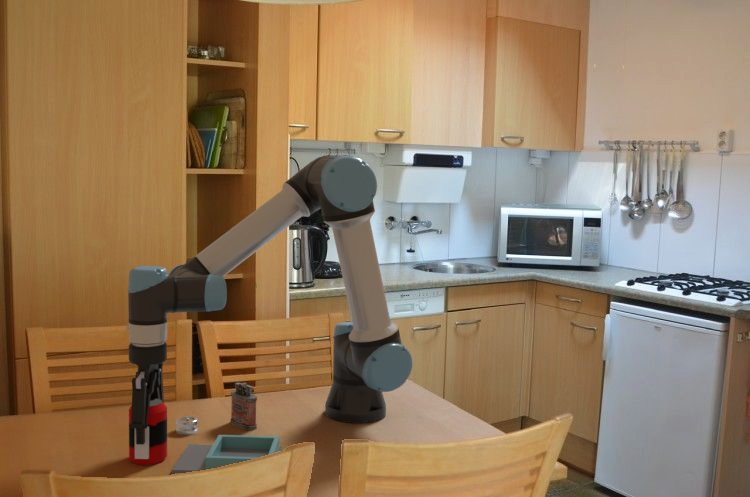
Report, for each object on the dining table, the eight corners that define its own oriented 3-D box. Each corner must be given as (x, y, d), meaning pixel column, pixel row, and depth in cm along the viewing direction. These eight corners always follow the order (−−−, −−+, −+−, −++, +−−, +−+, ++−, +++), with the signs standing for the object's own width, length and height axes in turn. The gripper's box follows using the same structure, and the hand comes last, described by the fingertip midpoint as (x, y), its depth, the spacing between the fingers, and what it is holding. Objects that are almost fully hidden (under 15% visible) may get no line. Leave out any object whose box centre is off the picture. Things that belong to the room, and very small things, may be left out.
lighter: (227, 422, 187) (227, 381, 186) (238, 419, 189) (239, 378, 188) (248, 431, 181) (248, 388, 180) (260, 427, 184) (260, 386, 183)
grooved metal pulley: (189, 436, 177) (202, 429, 181) (189, 423, 177) (203, 417, 181) (171, 432, 179) (185, 426, 184) (171, 420, 179) (185, 413, 183)
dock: (282, 451, 169) (282, 435, 169) (273, 477, 155) (273, 460, 155) (188, 448, 169) (188, 433, 169) (172, 474, 155) (172, 457, 155)
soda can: (170, 452, 167) (170, 397, 166) (162, 465, 160) (162, 408, 158) (134, 451, 167) (134, 396, 166) (124, 465, 159) (124, 407, 158)
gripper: (144, 330, 171) (144, 432, 173) (112, 354, 150) (113, 469, 153) (179, 331, 171) (178, 433, 173) (151, 355, 150) (152, 470, 153)
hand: (148, 450), depth 163 cm, fingers open, 8 cm apart
